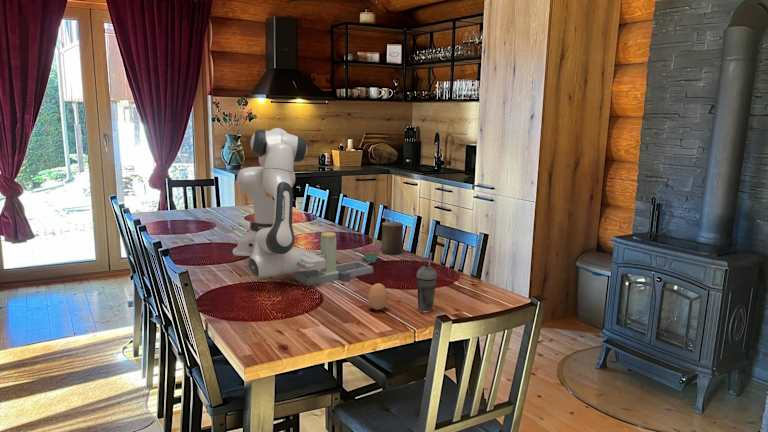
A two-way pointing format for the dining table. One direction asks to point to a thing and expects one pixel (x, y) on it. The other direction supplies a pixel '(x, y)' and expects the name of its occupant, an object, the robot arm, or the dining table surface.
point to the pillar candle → (392, 238)
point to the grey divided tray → (342, 276)
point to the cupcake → (370, 251)
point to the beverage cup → (426, 286)
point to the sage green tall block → (328, 253)
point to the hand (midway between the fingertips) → (323, 255)
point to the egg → (378, 296)
